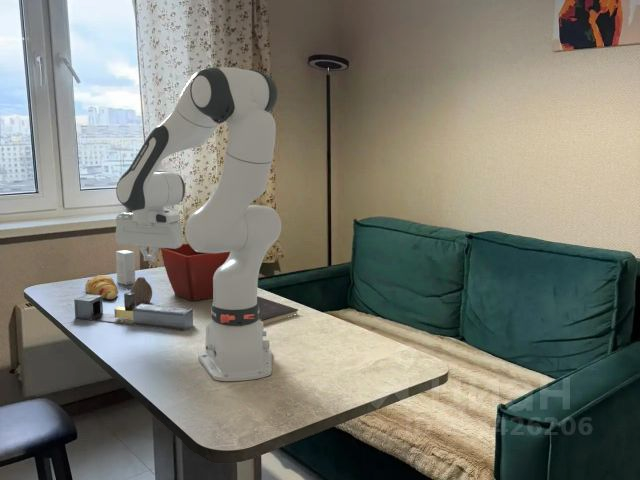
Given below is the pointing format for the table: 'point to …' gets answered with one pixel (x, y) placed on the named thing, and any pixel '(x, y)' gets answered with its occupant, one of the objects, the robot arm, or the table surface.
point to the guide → (135, 314)
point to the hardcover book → (273, 310)
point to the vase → (142, 291)
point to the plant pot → (192, 271)
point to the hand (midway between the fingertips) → (149, 261)
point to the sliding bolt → (126, 307)
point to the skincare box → (125, 267)
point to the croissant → (102, 287)
